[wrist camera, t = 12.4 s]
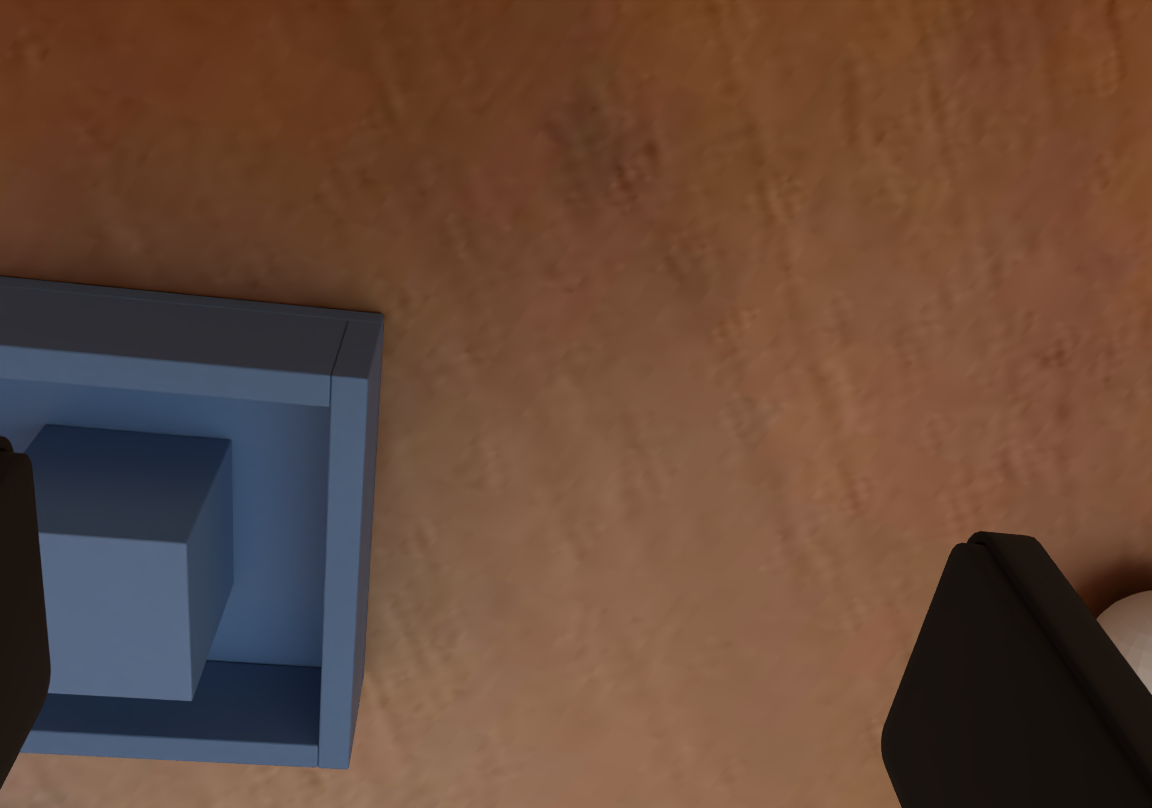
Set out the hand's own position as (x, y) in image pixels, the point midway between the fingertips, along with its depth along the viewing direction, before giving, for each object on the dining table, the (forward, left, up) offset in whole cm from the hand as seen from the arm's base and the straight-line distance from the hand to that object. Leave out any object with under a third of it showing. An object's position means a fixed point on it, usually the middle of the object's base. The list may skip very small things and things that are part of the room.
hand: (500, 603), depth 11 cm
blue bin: (-8, -10, -16) cm, 20 cm away
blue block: (-8, -10, -15) cm, 20 cm away
